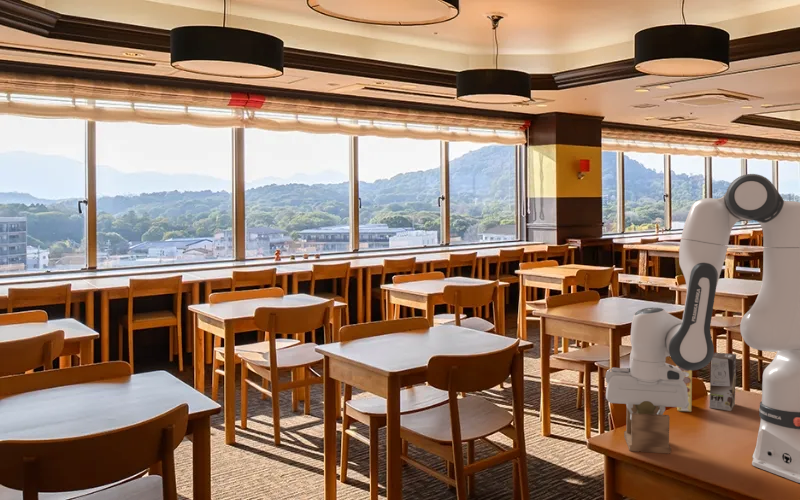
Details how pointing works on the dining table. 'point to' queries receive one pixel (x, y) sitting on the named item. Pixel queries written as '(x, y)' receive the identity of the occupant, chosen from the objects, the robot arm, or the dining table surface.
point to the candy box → (688, 383)
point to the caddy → (647, 432)
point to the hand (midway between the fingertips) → (645, 420)
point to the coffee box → (723, 381)
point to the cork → (645, 408)
